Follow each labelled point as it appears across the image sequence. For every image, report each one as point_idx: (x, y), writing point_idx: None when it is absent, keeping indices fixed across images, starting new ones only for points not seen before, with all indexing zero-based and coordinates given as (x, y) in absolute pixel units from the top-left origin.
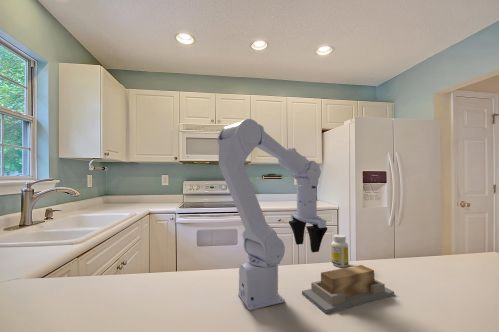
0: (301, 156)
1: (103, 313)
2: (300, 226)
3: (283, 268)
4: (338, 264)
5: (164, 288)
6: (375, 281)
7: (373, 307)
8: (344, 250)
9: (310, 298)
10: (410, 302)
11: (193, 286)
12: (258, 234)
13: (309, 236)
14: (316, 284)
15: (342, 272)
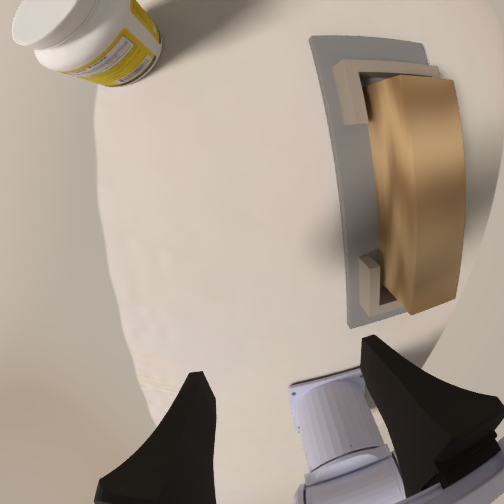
0: None
1: (292, 495)
2: (193, 488)
3: (147, 321)
4: (148, 68)
5: (244, 483)
6: (418, 75)
7: None
8: (137, 13)
9: (387, 317)
10: (447, 49)
11: (245, 467)
12: None
13: (394, 445)
14: (384, 305)
15: (441, 232)
